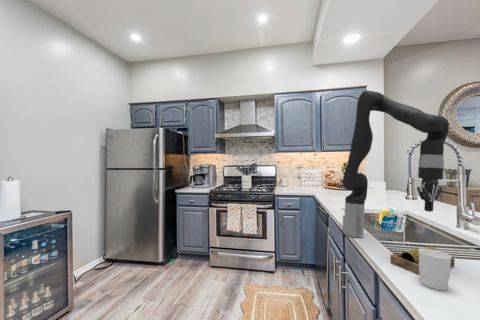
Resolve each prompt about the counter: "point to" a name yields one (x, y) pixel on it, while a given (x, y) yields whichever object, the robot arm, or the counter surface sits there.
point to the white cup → (434, 268)
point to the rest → (409, 263)
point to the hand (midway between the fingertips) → (428, 211)
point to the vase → (414, 254)
